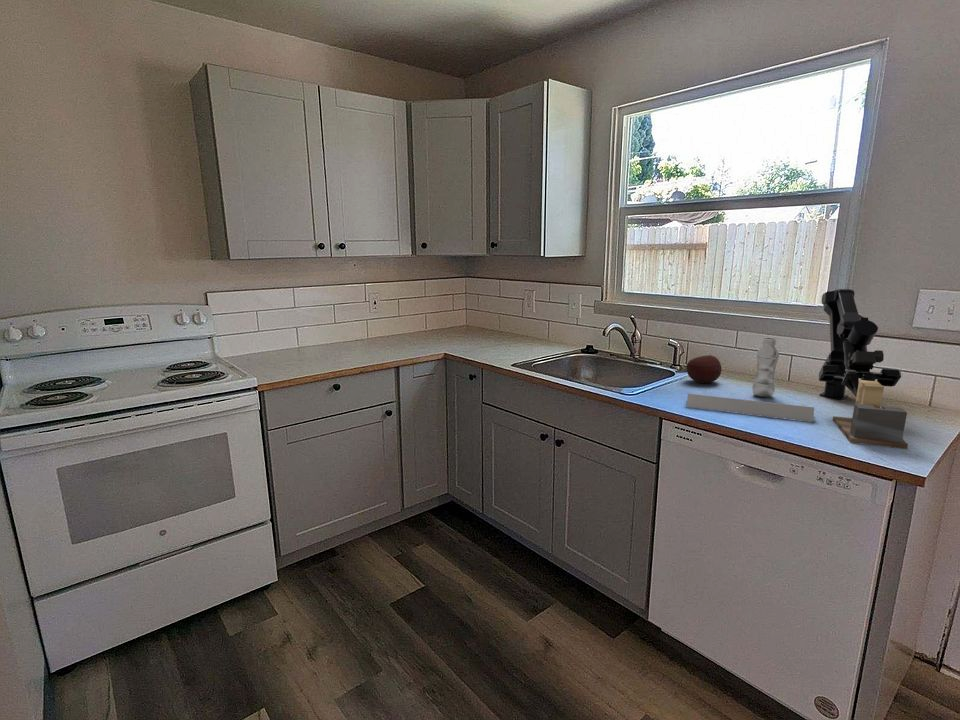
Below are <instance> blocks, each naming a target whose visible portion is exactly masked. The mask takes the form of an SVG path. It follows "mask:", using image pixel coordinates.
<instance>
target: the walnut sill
mask: <svg viewBox="0 0 960 720" xmlns="http://www.w3.org/2000/svg"><path fill="white" fill-rule="evenodd" d="M907 415H908V412H907V411H906V410H905V409H904V408H902V407H898V406H887V405H885V406H884V405H882V406H881V407H880V408H876V407H874V406H873V405H865V404H855V403H854V405H853V412H852V417H843V416H835V415H833V417H832V421H833V423H834V424H835V425H836V426H837V429H839V430H840V432H841V433H842V434H843V435H844V437H845V436H846V437H845V438H846V439H847V441H848V442H849V443H851V442H852V443H853V444H860V443H862V444H863V445H869V444H871V445H872V446H877V445H880V446H879V447H887V448H888V447H889V448H895V447H896V449H904V450H905V449H906V450H908V448H909V443H907V442H906V441H905V440H904V439H903V438H904V433H905V427H906V421H907ZM862 444H861V445H862ZM871 445H870V446H871Z"/></svg>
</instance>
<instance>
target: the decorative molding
mask: <svg viewBox="0 0 960 720" xmlns="http://www.w3.org/2000/svg"><path fill="white" fill-rule="evenodd" d="M686 399H687V401H686V408H690V407H691V408H692V409H698V408H699V409H700V410H707V409H709V411H715V410H719V411H718V412H723V411H729V412H728V413H732V412H737V413H736V414H740V413H744V414H743V415H748V414H752V415H751V416H756V415H761V416H760V417H765V416H768V417H767V418H773V417H777V418H776V419H781V418H786V419H785V420H789V419H795V420H794V421H798V420H802V421H801V422H806V421H810V422H809V423H814V417H815V416H814V415H815V406H814V407H813V406H808V405H807V406H806V405H805V406H804V405H796V404H787V403H779V402H778V403H777V402H768V401H762V400H761V401H760V400H752V399H751V400H750V399H740V398H732V397H731V398H730V397H723V396H713V395H703V394H697V393H687V398H686Z"/></svg>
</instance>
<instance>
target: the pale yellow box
mask: <svg viewBox="0 0 960 720" xmlns="http://www.w3.org/2000/svg"><path fill="white" fill-rule="evenodd" d="M884 387H885V386H882V385H881V384H880V383H878V382H877V380H875V381H866V380H861V379H859V384H858V391H857V397H855V403H854V404H865V405H873V406H874V407H876V408H882V406H881V405H882V400H883V395H884V389H885V388H884Z"/></svg>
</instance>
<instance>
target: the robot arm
mask: <svg viewBox="0 0 960 720" xmlns="http://www.w3.org/2000/svg"><path fill="white" fill-rule="evenodd" d="M820 302H821V305H823V306H822V307H823V311H824V313H825V314H827V316H829V335H830V337H829V338H830V353H829V354H828V356H827V357H826V359H825V361H824V362H823V364H822V366H821V368H820V370H819V372H818V381H819V382H823V383H825V384H824V390H823V391H822V393H819V397H820V396H821V397H826V398H831V399H834V400H835V399H836V400H840V401H841V400H844V399H846V398H849V395H848V394H846V388H848V390H850V392H851V393H852V394H853V396H854V397H855V398H856V397H857V391H858V384H859V380H866V381H877V382H878V383H880V384H881V385H882V386H884V387H890V388H891V387H895V386H896V384H897V383H898V382H899V381H900V379H901V378H902V373H901V371H900V370H899V369H897V368H885V367H883V368H882V369H881V370H880V371H879V372H877V371H871V370H873V368H874V364H877V363H882V362H884V358H885V355H884V351H883V350H879V349H877V350H874V351H868V345H870V344H871V342H872V341H873V339H874V338H875V336H876V334H877V332H878V330H879V327H878V325H877V324H876V323H875V322H874V321H871V320H869V317H865V316H862V315H860V314H859V311H858V308H857V304H856V300H855V291H854V289H852V288H849V289H848V288H837V289H834V290H827V291H826V292H824V293H823V294H822V295H821V301H820Z"/></svg>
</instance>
